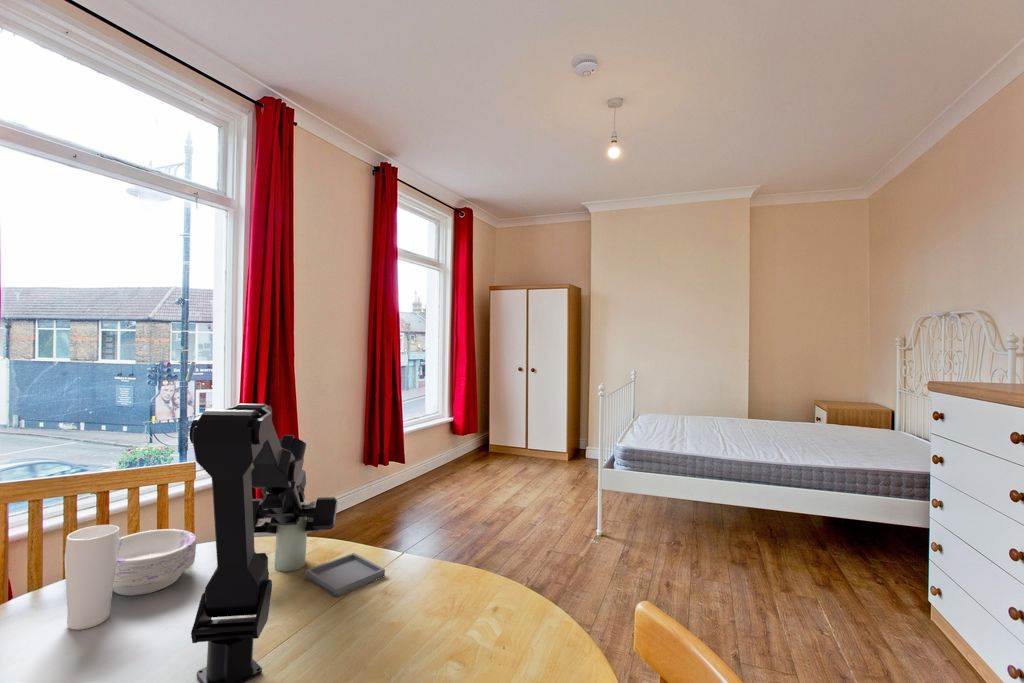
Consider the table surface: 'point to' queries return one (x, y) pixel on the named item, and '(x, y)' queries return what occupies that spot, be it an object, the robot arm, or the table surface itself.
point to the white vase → (90, 574)
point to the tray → (344, 574)
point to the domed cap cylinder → (291, 545)
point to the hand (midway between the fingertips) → (293, 531)
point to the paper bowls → (152, 560)
